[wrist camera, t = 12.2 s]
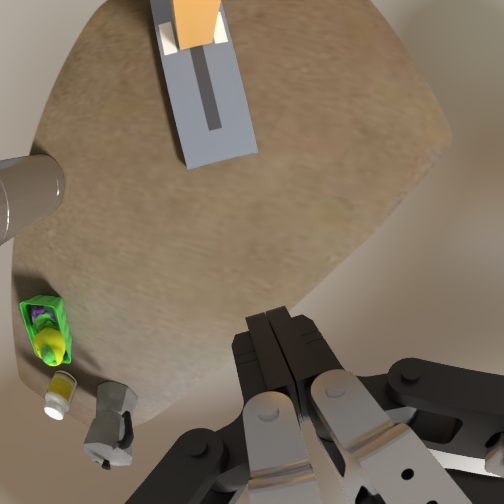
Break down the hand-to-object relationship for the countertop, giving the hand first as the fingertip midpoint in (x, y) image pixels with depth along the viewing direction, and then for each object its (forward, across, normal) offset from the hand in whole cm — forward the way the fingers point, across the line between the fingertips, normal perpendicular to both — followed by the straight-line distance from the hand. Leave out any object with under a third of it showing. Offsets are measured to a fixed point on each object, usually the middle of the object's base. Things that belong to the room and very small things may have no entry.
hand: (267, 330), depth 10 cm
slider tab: (+27, -2, -22) cm, 35 cm away
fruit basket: (+29, +32, +12) cm, 45 cm away
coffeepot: (+29, +30, +31) cm, 52 cm away
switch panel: (+29, -2, -17) cm, 34 cm away
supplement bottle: (+29, +40, +25) cm, 56 cm away
